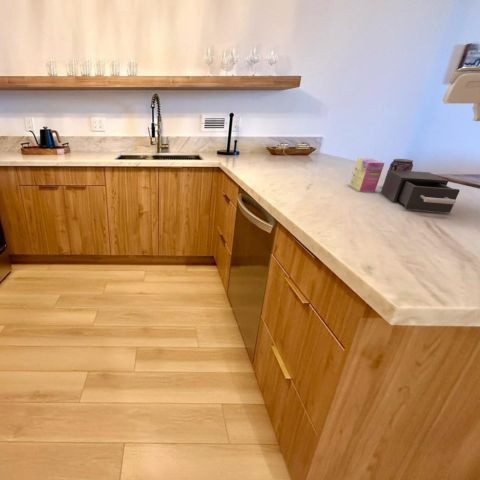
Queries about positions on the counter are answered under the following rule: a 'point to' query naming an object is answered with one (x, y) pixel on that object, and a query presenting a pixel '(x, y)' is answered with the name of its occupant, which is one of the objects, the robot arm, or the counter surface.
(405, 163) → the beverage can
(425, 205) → the basket
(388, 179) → the fryer
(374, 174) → the box
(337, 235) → the counter surface
